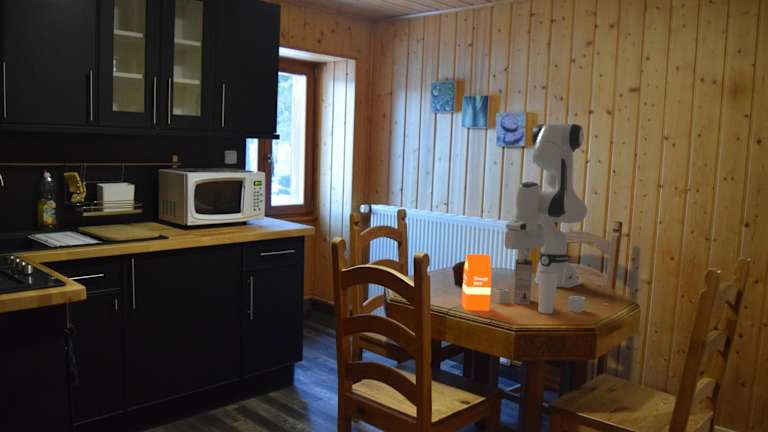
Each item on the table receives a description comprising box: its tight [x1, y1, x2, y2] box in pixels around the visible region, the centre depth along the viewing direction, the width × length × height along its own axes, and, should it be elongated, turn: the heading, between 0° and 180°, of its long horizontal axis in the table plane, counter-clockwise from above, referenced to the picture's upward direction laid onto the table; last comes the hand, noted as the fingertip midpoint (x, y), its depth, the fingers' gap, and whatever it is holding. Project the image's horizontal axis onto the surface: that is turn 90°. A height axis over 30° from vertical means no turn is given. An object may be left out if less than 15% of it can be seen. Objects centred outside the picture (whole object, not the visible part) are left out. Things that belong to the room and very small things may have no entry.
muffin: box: [451, 260, 466, 288], centre depth 282 cm, size 12×11×10 cm
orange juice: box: [461, 253, 493, 312], centre depth 240 cm, size 8×9×20 cm
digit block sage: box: [490, 287, 511, 305], centre depth 253 cm, size 5×5×5 cm
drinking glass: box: [537, 271, 558, 315], centre depth 238 cm, size 7×7×15 cm
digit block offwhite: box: [566, 295, 586, 314], centre depth 243 cm, size 5×5×5 cm
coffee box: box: [513, 258, 533, 305], centre depth 254 cm, size 9×6×16 cm
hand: (524, 259), depth 253 cm, fingers closed
